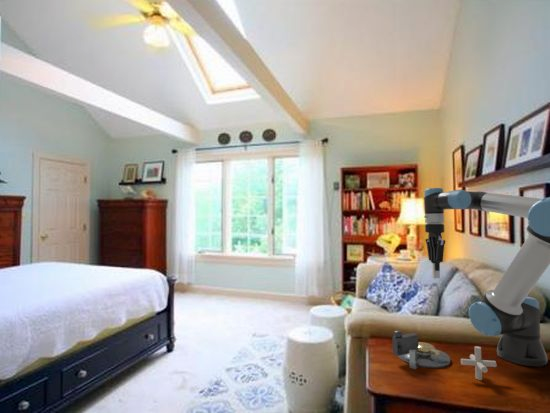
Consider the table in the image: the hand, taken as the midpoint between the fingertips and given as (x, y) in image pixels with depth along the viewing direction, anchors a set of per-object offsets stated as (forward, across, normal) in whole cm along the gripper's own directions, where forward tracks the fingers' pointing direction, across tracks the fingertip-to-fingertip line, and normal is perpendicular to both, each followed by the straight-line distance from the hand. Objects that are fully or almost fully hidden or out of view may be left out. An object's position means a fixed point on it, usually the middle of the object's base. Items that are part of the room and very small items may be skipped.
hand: (436, 278), depth 145 cm
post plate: (+26, +19, -16) cm, 36 cm away
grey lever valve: (+23, +20, -19) cm, 36 cm away
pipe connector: (+27, +35, -4) cm, 44 cm away
